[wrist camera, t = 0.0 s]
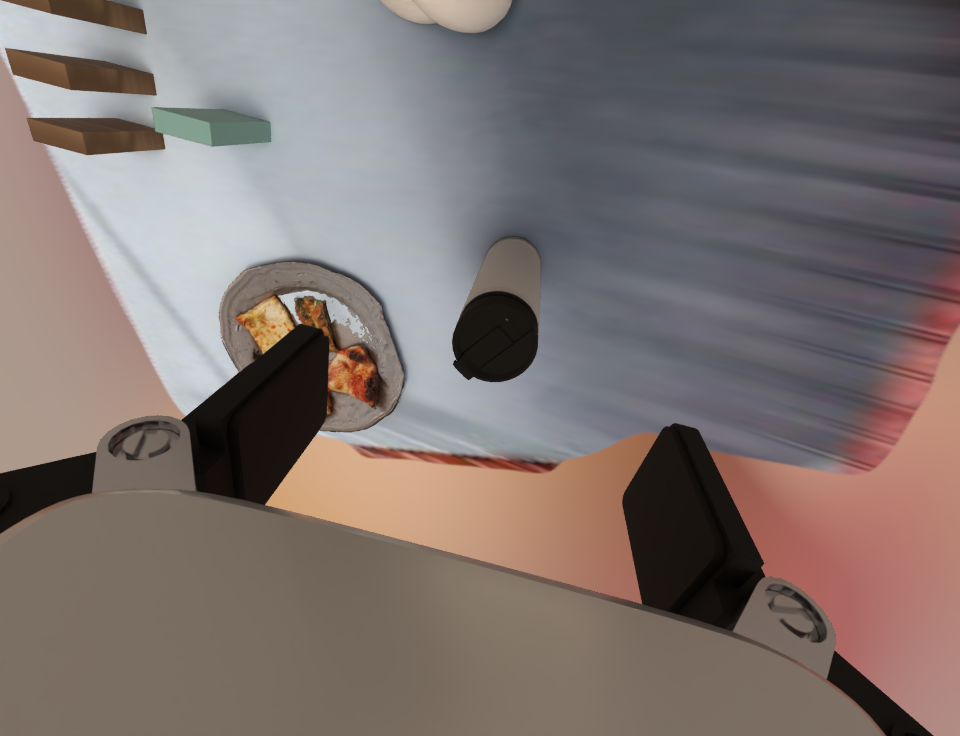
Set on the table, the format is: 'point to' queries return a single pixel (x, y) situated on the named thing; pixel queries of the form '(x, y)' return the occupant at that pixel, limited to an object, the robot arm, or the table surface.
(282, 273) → the food plate
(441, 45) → the table surface
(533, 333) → the travel mug
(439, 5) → the white knot
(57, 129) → the domino
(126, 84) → the domino
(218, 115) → the domino
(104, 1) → the domino
